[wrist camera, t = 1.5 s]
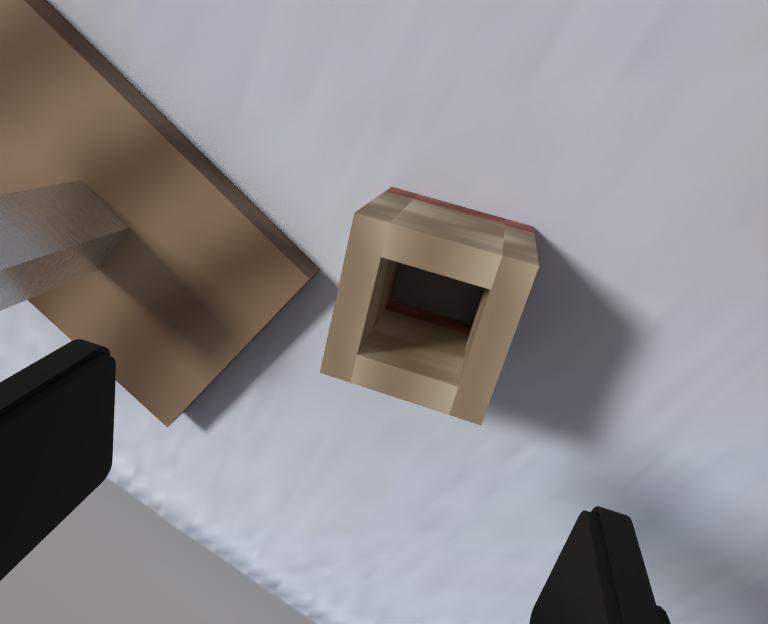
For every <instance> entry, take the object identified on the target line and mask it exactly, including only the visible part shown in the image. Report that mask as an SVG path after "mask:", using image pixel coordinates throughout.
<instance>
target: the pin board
mask: <svg viewBox="0 0 768 624" xmlns="http://www.w3.org/2000/svg"><path fill="white" fill-rule="evenodd" d="M77 180H81V181H82V182H83V183H84V184H85V185H86V186H87V187H88V188H89V189H90V190H92V191H93V192H94V193H95V194H96V195H97V196H98V197H99V198H100V199H101V200H102V201H103V202H104V203H105V204H106V205H107V206H108V207H109V208H110V209H112V210H113V211H114V212H115V213H116V214H117V215H118V216H119V217H120V218H121V219H122V220H123V221H124V222H125V223H126V224H127V225H128V226H129V227H130V228H129V230H128V231H127V232H126V234H125V235H124V237H123V238H122V239H121V241H120V242H119V244H118V245H117V246H116V248H115V249H114V251H113V252H112V253H111V255H110V256H109V257H108V259H107V260H106V262H105V263H104V264H103V266H102V267H101V269H100V270H98V271H96V272H94V273H91V274H89V275H86V276H84V277H81V278H79V279H76V280H74V281H72V282H69V283H67V284H64V285H62V286H59V287H57V288H54V289H52V290H50V291H47V292H45V293H42V294H40V295H37V296H35V297H32V298H30V299H28V301H29V302H30V303H31V304H33V305H34V306H35V307H36V308H37V309H38V310H39V311H40V312H41V313H42V314H44V315H45V316H46V317H47V318H48V319H49V320H50V321H51V322H52V323H53V324H55V325H56V326H57V327H58V328H59V329H60V330H61V331H62V332H63V333H64V334H66V335H67V336H68V337H69V338H70V339H71V340H72V341H73V340H76V339H83V340H86V341H89V342H92V343H95V344H98V345H101V346H104V347H106V348H108V349H109V351H110V355H111V357H113V358H114V359H115V361H116V378H115V380H116V381H117V382H118V383H119V384H120V385H122V386H123V387H124V388H125V389H126V390H127V391H128V392H129V393H130V394H131V395H133V396H134V397H135V398H136V399H137V400H138V401H139V402H140V403H141V404H142V405H144V406H145V407H146V408H147V409H148V410H149V411H150V412H151V413H152V414H153V415H155V416H156V417H157V418H158V419H159V420H160V421H161V422H162V423H163V424H164V425H166V426H167V427H168V426H169V425H170V424H171V423H172V422H174V421H175V420H176V419H177V418H178V417H179V416H180V415H181V414H182V413H183V412H184V411H185V410H186V409H187V408H188V407H189V406H190V405H191V404H192V403H193V402H194V401H195V400H196V399H197V397H198V396H199V395H200V394H201V393H202V392H203V391H204V390H205V389H206V388H207V387H208V386H209V385H210V384H211V383H212V382H213V381H214V380H215V379H216V378H217V377H218V376H219V374H220V373H221V372H222V371H223V370H224V369H225V368H226V367H227V366H228V365H229V364H230V363H231V362H232V361H233V360H234V359H235V358H236V357H237V356H238V355H239V354H240V353H241V352H242V350H243V349H244V348H245V347H246V346H247V345H248V344H249V343H250V342H251V341H252V340H253V339H254V338H255V337H256V336H257V335H258V334H259V333H260V332H261V331H262V330H263V329H264V328H265V326H266V325H267V324H268V323H269V322H270V321H271V320H272V319H273V318H274V317H275V316H276V315H277V314H278V313H279V312H280V311H281V310H282V309H283V308H284V307H285V306H286V305H287V303H288V302H289V301H290V300H291V299H292V298H293V297H294V296H295V295H296V294H297V293H298V292H299V291H300V290H301V289H302V288H303V287H304V286H305V285H306V284H307V283H308V282H309V281H310V279H311V278H312V277H313V276H314V275H315V274H316V273H317V272H318V271H319V270H320V269H319V268H318V267H317V266H316V265H315V264H314V263H313V262H312V261H311V260H310V259H309V258H308V257H307V256H306V255H305V254H304V253H303V252H302V251H301V250H300V249H299V248H298V247H297V246H296V245H295V244H294V243H293V242H292V241H291V240H289V239H288V238H287V237H286V236H285V235H284V234H283V233H282V232H281V231H280V230H279V229H278V228H277V227H276V226H275V225H274V224H273V223H272V222H271V221H270V220H269V219H268V218H267V217H266V216H265V215H264V214H263V213H262V212H261V211H260V210H259V209H258V208H257V207H256V206H255V205H254V204H253V203H252V202H251V201H250V200H249V199H248V198H247V197H246V196H245V195H244V194H243V193H242V192H241V191H240V190H239V189H238V188H237V187H236V186H235V185H234V184H233V183H231V182H230V181H229V180H228V179H227V178H226V177H225V176H224V175H223V174H222V173H221V172H220V171H219V170H218V169H217V168H216V167H215V166H214V165H213V164H212V163H211V162H210V161H209V160H208V159H207V158H206V157H205V156H204V155H203V154H202V153H201V152H200V151H199V150H198V149H197V148H196V147H195V146H194V145H193V144H192V143H191V142H190V141H189V140H188V139H187V138H186V137H185V136H184V135H183V134H182V133H181V132H180V131H179V130H178V129H177V128H176V127H175V126H173V125H172V124H171V123H170V122H169V121H168V120H167V119H166V118H165V117H164V116H163V115H162V114H161V113H160V112H159V111H158V110H157V109H156V108H155V107H154V106H153V105H152V104H151V103H150V102H149V101H148V100H147V99H146V98H145V97H144V96H143V95H142V94H141V93H140V92H139V91H138V90H137V89H136V88H135V87H134V86H133V85H132V84H131V83H130V82H129V81H128V80H127V79H126V78H125V77H124V76H123V75H122V74H121V73H120V72H119V71H118V70H117V69H115V68H114V67H113V66H112V65H111V64H110V63H109V62H108V61H107V60H106V59H105V58H104V57H103V56H102V55H101V54H100V53H99V52H98V51H97V50H96V49H95V48H94V47H93V46H92V45H91V44H90V43H89V42H88V41H87V40H86V39H85V38H84V37H83V36H82V35H81V34H80V33H79V32H78V31H77V30H76V29H75V28H74V27H73V26H72V25H71V24H70V23H69V22H68V21H67V20H66V19H65V18H64V17H63V16H62V15H61V14H60V13H58V12H57V11H56V10H55V9H54V8H53V7H52V6H51V5H50V4H49V3H48V2H47V1H46V0H0V195H1V194H7V193H12V192H18V191H23V190H28V189H34V188H39V187H45V186H50V185H55V184H61V183H66V182H72V181H77Z"/></svg>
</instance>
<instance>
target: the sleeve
mask: <svg viewBox="0 0 768 624" xmlns="http://www.w3.org/2000/svg"><path fill="white" fill-rule="evenodd" d="M400 263H403V264H406V265H409V266H413V267H416V268H419V269H423V270H426V271H429V272H433V273H436V274H440V275H443V276H446V277H450V278H453V279H456V280H460V281H463V282H466V283H470V284H473V285H477V286H480V287H483V289H482V292H481V295H480V298H479V301H478V304H477V307H476V310H475V313H474V316H473V319H472V322H471V325H470V324H467V323H464V322H460V321H457V320H454V319H451V318H447V317H444V316H441V315H438V314H434V313H431V312H428V311H424V310H421V309H418V308H415V307H411V306H408V305H405V304H402V303H398V302H395V301H392V300H391V298H392V294H393V290H394V286H395V282H396V279H397V275H398V271H399V267H400ZM538 268H539V261H538V254H537V247H536V240H535V233H534V227H532V226H529V225H525V224H521V223H518V222H514V221H511V220H507V219H504V218H500V217H497V216H493V215H489V214H486V213H482V212H479V211H475V210H472V209H468V208H465V207H461V206H458V205H454V204H450V203H447V202H443V201H440V200H436V199H433V198H429V197H426V196H422V195H419V194H415V193H411V192H408V191H404V190H401V189H397V188H394V187H391V188H389V189H388V190H386V191H385V192H384V193H382V194H381V195H379V196H378V197H376V198H375V199H374V200H372V201H371V202H369V203H368V204H366V205H365V206H364V207H362V208H361V209H359V210H358V211H357V212H355V213H354V218H353V222H352V227H351V232H350V236H349V241H348V245H347V250H346V255H345V259H344V264H343V269H342V273H341V278H340V282H339V287H338V292H337V296H336V301H335V306H334V310H333V315H332V319H331V324H330V329H329V333H328V338H327V342H326V347H325V352H324V356H323V361H322V366H321V370H320V373H323V374H326V375H329V376H332V377H335V378H338V379H341V380H344V381H347V382H350V383H353V384H356V385H360V386H363V387H366V388H369V389H372V390H375V391H378V392H381V393H384V394H387V395H390V396H393V397H396V398H399V399H402V400H406V401H409V402H412V403H415V404H418V405H421V406H424V407H427V408H430V409H433V410H436V411H439V412H442V413H445V414H448V415H452V416H455V417H458V418H461V419H464V420H467V421H470V422H473V423H476V424H479V425H481V424H482V421H483V419H484V416H485V413H486V410H487V408H488V405H489V402H490V399H491V397H492V394H493V391H494V389H495V386H496V383H497V380H498V378H499V375H500V372H501V369H502V367H503V364H504V361H505V358H506V356H507V353H508V350H509V348H510V345H511V342H512V339H513V337H514V334H515V331H516V328H517V326H518V323H519V320H520V318H521V315H522V312H523V309H524V307H525V304H526V301H527V298H528V296H529V293H530V290H531V287H532V285H533V282H534V279H535V277H536V274H537V271H538Z"/></svg>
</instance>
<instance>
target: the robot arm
mask: <svg viewBox="0 0 768 624" xmlns="http://www.w3.org/2000/svg"><path fill="white" fill-rule="evenodd" d="M115 378H116V361H115V359H114V358H113V357H111V355H110V351H109V349H108V348H106V347H104V346H101V345H98V344H95V343H92V342H89V341H86V340H83V339H76V340H73V341H71V342H69V343H68V344H66V345H64V346H63V347H61V348H59V349H57V350H56V351H54V352H52V353H50V354H49V355H47V356H45V357H43V358H42V359H40V360H38V361H37V362H35V363H33V364H31V365H30V366H28V367H26V368H24V369H23V370H21V371H19V372H17V373H16V374H14V375H12V376H11V377H9V378H7V379H5V380H4V381H2V382H0V581H1V580H2V579H3V578H4V577H5V576H6V575H7V574H8V573H9V572H10V571H11V570H12V569H13V568H14V567H15V566H16V565H17V564H18V563H19V562H20V561H21V560H22V559H23V558H24V557H25V556H26V555H27V554H28V553H30V551H32V550H33V549H34V547H36V546H37V545H38V544H39V543H40V542H41V541H42V540H43V539H44V538H45V537H46V536H47V535H48V534H49V533H50V532H51V531H52V530H53V529H54V528H55V527H56V526H57V525H58V524H59V523H60V522H61V521H63V520H64V519H65V518H66V517H67V516H68V515H69V514H70V513H71V512H72V511H73V510H74V509H75V508H76V507H77V506H78V505H79V504H80V503H81V502H82V501H83V500H84V499H85V498H86V497H87V496H88V495H89V494H90V493H91V492H93V491H94V490H95V489H96V488H97V487H98V486H99V485H100V484H101V483H102V482H103V481H104V480H105V478H106V477H107V475H108V473H109V471H110V469H111V466H112V455H113V429H114V404H115ZM530 624H670V621H669V618H668V616H667V614H666V612H665V611H664V610H663V609H662V607H660V606H657V605H656V603H655V599H654V596H653V592H652V589H651V585H650V582H649V579H648V575H647V572H646V568H645V565H644V561H643V558H642V554H641V551H640V548H639V544H638V541H637V537H636V534H635V530H634V527H633V523H632V521H631V519H630V517H628V516H627V515H624V514H621V513H618V512H614V511H611V510H608V509H605V508H602V507H599V506H597V507H595V508H594V509H593V510H592V511H591V512H588V511H582V512H581V514H580V515H579V517H578V519H577V521H576V523H575V525H574V527H573V529H572V531H571V533H570V535H569V537H568V539H567V541H566V543H565V545H564V547H563V549H562V551H561V553H560V555H559V557H558V559H557V561H556V563H555V565H554V567H553V569H552V571H551V574H550V576H549V578H548V580H547V582H546V584H545V586H544V588H543V590H542V592H541V594H540V596H539V598H538V600H537V602H536V604H535V606H534V608H533V610H532V614H531V618H530Z"/></svg>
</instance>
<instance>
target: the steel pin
mask: <svg viewBox="0 0 768 624" xmlns="http://www.w3.org/2000/svg"><path fill="white" fill-rule="evenodd" d="M129 228H130V227H129V226H128V225H127V224H126V223H125V222H124V221H123V220H122V219H121V218H120V217H119V216H118V215H117V214H116V213H115V212H114V211H113V210H112V209H110V208H109V207H108V206H107V205H106V204H105V203H104V202H103V201H102V200H101V199H100V198H99V197H98V196H97V195H96V194H95V193H94V192H93V191H92V190H90V189H89V188H88V187H87V186H86V185H85V184H84V183H83V182H82V181H81V180H77V181H72V182H66V183H61V184H55V185H50V186H45V187H39V188H34V189H28V190H23V191H18V192H12V193H7V194H1V195H0V311H1V310H3V309H6V308H8V307H11V306H13V305H15V304H18V303H20V302H23V301H25V300H28V299H30V298H32V297H35V296H37V295H40V294H42V293H45V292H47V291H50V290H52V289H54V288H57V287H59V286H62V285H64V284H67V283H69V282H72V281H74V280H76V279H79V278H81V277H84V276H86V275H89V274H91V273H94V272H96V271H98V270H100V269H101V267H102V266H103V264H104V263H105V262H106V260H107V259H108V257H109V256H110V255H111V253H112V252H113V251H114V249H115V248H116V246H117V245H118V244H119V242H120V241H121V239H122V238H123V237H124V235H125V234H126V232H127V231H128V230H129Z"/></svg>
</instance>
